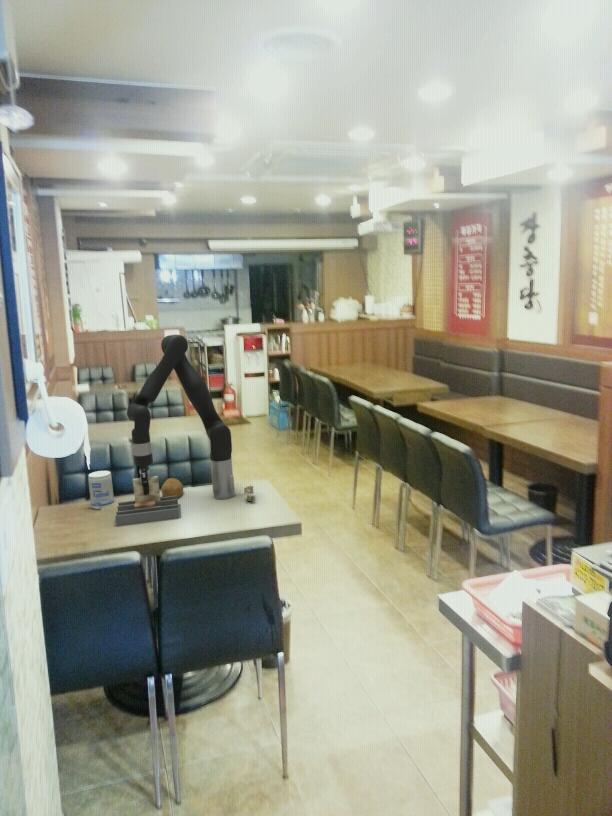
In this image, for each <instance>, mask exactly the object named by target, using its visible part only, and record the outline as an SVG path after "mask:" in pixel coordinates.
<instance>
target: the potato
mask: <svg viewBox="0 0 612 816" xmlns="http://www.w3.org/2000/svg"><path fill="white" fill-rule="evenodd" d="M160 491H161V493H162V495H163V497H168V496H177V498H180V497H181V495H182V494H183V492H184V485H183V483H182V482H181V481H180V480H178V479H177V478H173V477H170V478H168V479H166V480H165V481H164V483H163V484H162V486H161V489H160Z"/></svg>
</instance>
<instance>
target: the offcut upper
mask: <svg viewBox="0 0 612 816" xmlns="http://www.w3.org/2000/svg"><path fill="white" fill-rule="evenodd" d="M150 507H156V506H155V501H148V502H140V503H135V505H134V508H135V509H142V508H150Z"/></svg>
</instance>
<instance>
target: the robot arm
mask: <svg viewBox="0 0 612 816" xmlns="http://www.w3.org/2000/svg"><path fill="white" fill-rule="evenodd" d="M160 346H161V348H160V349H161V351H162V353H163V356H162V357H161V359H160V361H159V363H158V364H157V366H155V368H154V370H153V371H152V372H151V373H150V374H149V376H148V377H147V378H146V380H145V382H144V384H143V385H142V388H141V389H140V391H139V392H138V394H137V395H136V396H135V397H134V398H133V399H132V400H131V402H130V404H129V405H128V408H127V411H126V416H127V418H128V419H129V420H130V421H133V422H134V423H133V424H134V428H132V430H131V440H132V441H131V442H132V456H133V464H134V466H136V467H139V470H138V472H139V473H138V474H139V476H140V477H139V478H141V481H142V486H143V491H144V495H149V482H148V480H149V477H151V476H150V475H151V474H150V470H151V469H150V468H151V467H150V465H152V464H153V463H154V458H153V449H152V442H151V435H150V429H151V428H150V427H151V420H152V419H151V413H150V412H151V411H150V409H149V408H148V407H149V406H150V405H151V404H152V403H155V401H156V400H157V398H158V397H159V395H160V393H161V391H162V389H163V387H164V385H165V383H166V382H167V380H168V379H169V376H170V375H171V374H172V372H173V371H174V372H175V374H176V376H177V378H178V380H179V382H180V385H181V386H182V388H183V391H184V393H185V395H186V397H187V399H188V401H189V402H190V403H191V406H192V407H193V409H194V410H195V411H196V413H197V414H198V416H199V418H200V420H201V422H202V424H203V427H204V430H205V432H206V435H207V437H208V439H209V441H210V445H209V446H210V453H209V459H210V469H211V470H210V471H211V483H212V495H213V498H214V499H218V500H227V499H230V498H233V497H234V498H235V497H236V492H235V479H234V477H235V476H234V474H233V459H232V453H233V444H232V443H233V441H232V432H231V429H230V427H228V425H227V424H226V423H224V421H223V420H222V418H221V417H220V416H219V414H218V412H217V411H216V408H215V406H214V401H213V398H212V395H211V392H210V390H209V388H208V387H207V385H206V384H207V383H206V382H205V380H204V379H203V377H202V376H201V375H200V373H199V372H198V370H196V369H195V368H194V367H193V365H192V364H191V363H190V360H189V359H188V357H187V355H186V353H187V351H188V349H189V343H188V341H187V338H186V337H185V336H183V335H180V334H170V335H166V336H164V337H163V339H162V340H161V344H160ZM143 481H147V483H144V482H143Z"/></svg>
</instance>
